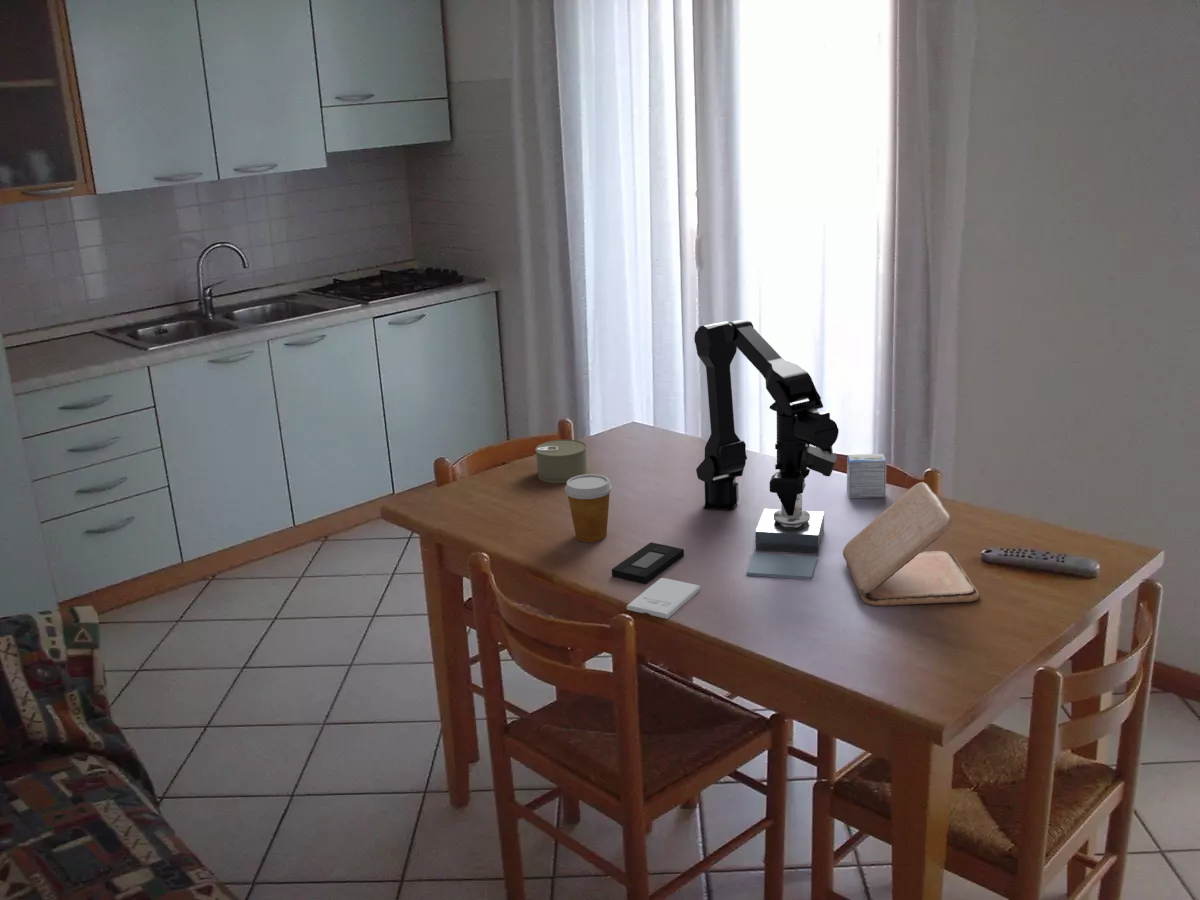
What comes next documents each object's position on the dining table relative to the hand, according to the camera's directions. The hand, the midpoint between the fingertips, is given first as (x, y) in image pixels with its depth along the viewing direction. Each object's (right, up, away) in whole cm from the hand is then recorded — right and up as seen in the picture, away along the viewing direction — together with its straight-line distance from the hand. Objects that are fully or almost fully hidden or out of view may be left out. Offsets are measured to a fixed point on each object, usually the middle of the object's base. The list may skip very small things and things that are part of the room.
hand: (791, 511), depth 225 cm
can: (-46, +6, +46) cm, 66 cm away
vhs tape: (-28, -11, -6) cm, 31 cm away
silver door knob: (0, -5, +2) cm, 5 cm away
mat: (-3, -10, -10) cm, 14 cm away
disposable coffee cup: (-39, -6, +9) cm, 41 cm away
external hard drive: (-26, -16, -20) cm, 36 cm away
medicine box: (+20, +2, +23) cm, 31 cm away
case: (+18, -12, -18) cm, 28 cm away
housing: (0, -6, +2) cm, 6 cm away
